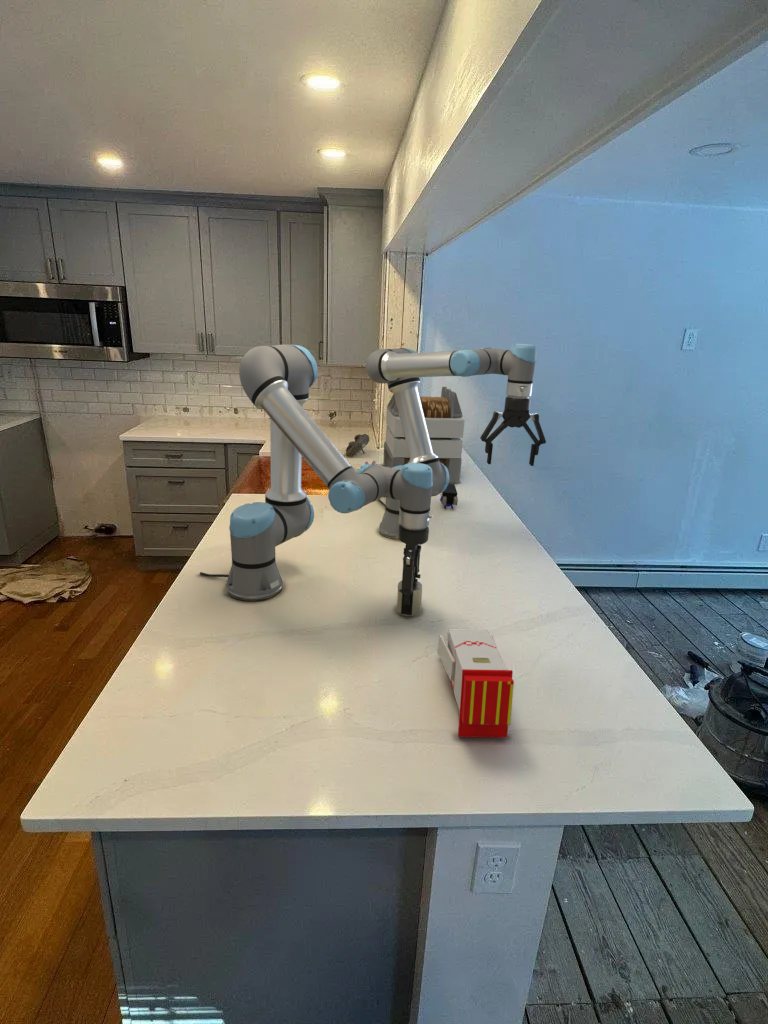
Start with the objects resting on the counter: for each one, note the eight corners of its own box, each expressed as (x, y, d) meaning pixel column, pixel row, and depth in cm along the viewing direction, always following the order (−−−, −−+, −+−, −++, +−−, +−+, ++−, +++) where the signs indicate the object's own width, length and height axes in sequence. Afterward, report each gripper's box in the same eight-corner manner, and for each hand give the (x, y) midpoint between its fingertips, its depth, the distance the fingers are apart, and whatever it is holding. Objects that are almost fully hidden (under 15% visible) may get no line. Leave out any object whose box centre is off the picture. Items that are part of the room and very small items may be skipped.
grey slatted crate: (382, 463, 289) (386, 382, 275) (445, 464, 293) (451, 384, 279) (390, 482, 257) (394, 392, 243) (460, 483, 261) (468, 394, 247)
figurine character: (457, 514, 225) (453, 498, 239) (459, 497, 222) (455, 481, 236) (441, 513, 225) (437, 497, 239) (442, 496, 222) (439, 481, 235)
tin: (407, 619, 145) (408, 593, 143) (391, 608, 150) (393, 583, 147) (425, 612, 149) (427, 586, 146) (409, 602, 154) (411, 577, 151)
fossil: (345, 440, 316) (366, 424, 311) (356, 453, 319) (377, 438, 314) (339, 453, 297) (361, 437, 292) (350, 467, 300) (373, 452, 295)
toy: (488, 613, 130) (523, 677, 101) (484, 667, 133) (517, 744, 104) (435, 612, 130) (455, 676, 101) (432, 666, 133) (451, 743, 103)
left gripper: (423, 541, 132) (417, 628, 140) (433, 514, 150) (427, 592, 157) (391, 537, 133) (387, 623, 141) (405, 511, 151) (401, 588, 159)
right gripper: (479, 396, 169) (472, 465, 177) (562, 400, 170) (552, 468, 177) (475, 393, 176) (469, 459, 184) (555, 396, 177) (545, 462, 184)
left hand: (408, 606), depth 149 cm, fingers closed on tin, 6 cm apart
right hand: (510, 464), depth 180 cm, fingers open, 13 cm apart
